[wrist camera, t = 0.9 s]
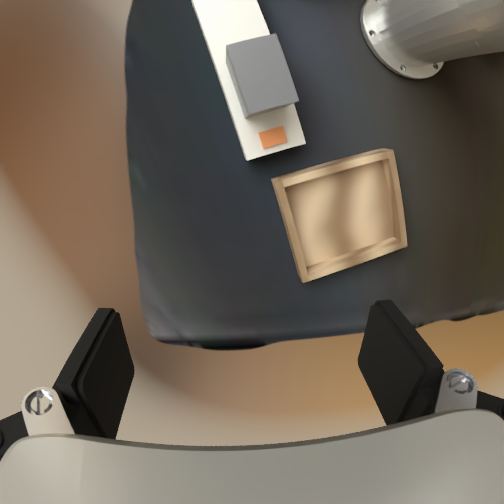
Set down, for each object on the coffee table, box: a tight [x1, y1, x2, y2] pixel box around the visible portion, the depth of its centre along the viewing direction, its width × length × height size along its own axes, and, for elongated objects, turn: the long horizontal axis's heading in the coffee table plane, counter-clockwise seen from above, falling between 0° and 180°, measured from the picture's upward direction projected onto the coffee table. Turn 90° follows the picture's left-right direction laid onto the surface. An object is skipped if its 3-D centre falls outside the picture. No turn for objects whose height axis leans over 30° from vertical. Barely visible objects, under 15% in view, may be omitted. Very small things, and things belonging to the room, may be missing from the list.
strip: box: [191, 0, 306, 161], centre depth 26 cm, size 6×20×4 cm, turn 17°
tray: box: [271, 148, 407, 283], centre depth 34 cm, size 14×12×3 cm
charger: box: [226, 33, 299, 118], centre depth 24 cm, size 4×6×8 cm, turn 17°
